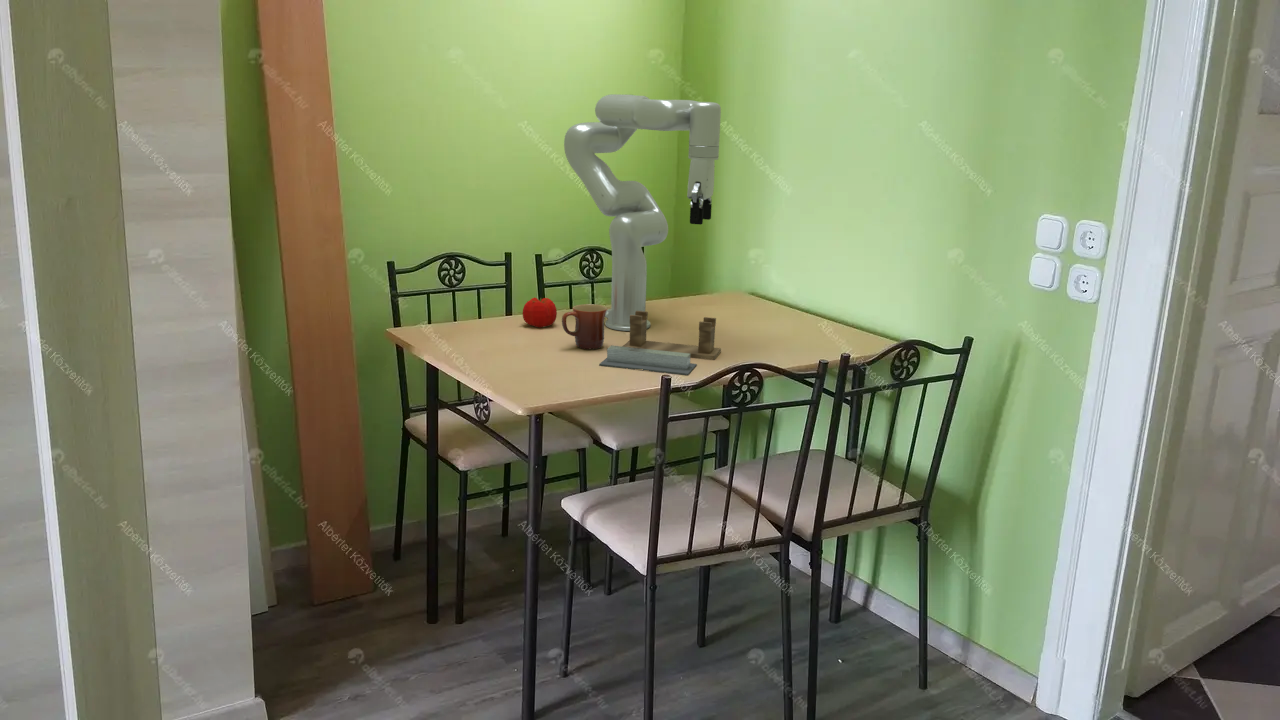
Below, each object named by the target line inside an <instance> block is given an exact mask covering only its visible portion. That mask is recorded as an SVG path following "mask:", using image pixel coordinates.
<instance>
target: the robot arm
mask: <svg viewBox="0 0 1280 720" xmlns="http://www.w3.org/2000/svg"><path fill="white" fill-rule="evenodd" d="M594 113H595V117H596V118H597V120H598V121H593V122H592V121H591V122H589V121H587V122H579V123H576V124H574V125H572V126H570V127H569V128H568V129H567V131H566V132H565V135H564V140H563V147H564V154H565V157H566V160H567V162H568V164H569V166H570V167H571V169H572V170H573V171H574V172H575V174H576V175H577V176H578V177H579V180H581V182H582V183H583V185H584V187H585V189H586V190H587V192H588V193H589V195H590V196H591V198H592V200H593V201H594V203H595V204H596V206H597V208H598V210H599V211H600V212H601V213H602V214H603V216H605V217H614V218H613V219H612V220H611V222H610V224H609V228H608V233H609V234H608V235H609V239H610V240H609V241H610V246H611V304H610V305H611V306H610V308H607V312H606V315H605V318H606V320H604V326H606V327H607V328H608V329H611V330H615V331H621V332H623V331H624V332H630V315H635V311H645V312H646V301H647V299H646V297H647V269H648V268H647V267H648V266H647V259H646V257H645V254H644V252H643V249H642V247H647V246H648V247H649V246H653V245H654V246H655V245H658V244H661V243H662V242H664V241H665V240H666V239H667V236H668V234H669V225H668V221H667V219H666V217H665V215H664V212H663V211H662V210H661V208H660V207H659V205H658V203H657V202H656V200H655V199H654V197H653V195H652V194H651V192H650V190H649V189H648V188H647V187H646V185H644V184H642V182H640V181H636V180H619V179H618V178H617V177H616V175H615V174H614V173H613V171H612V169H611V168H610V165H608V164H607V163H606V162H605V161H604V160H603V159H601V158H600V157H598V156H597V154H611V153H616V152H617V151H620V149H622V148H623V146H625V144H626V143H627V142H628V141H629V140H630V138H631V137H632V136H633V135H634V134H635V132H636V131H638V130H648V131H660V132H661V131H662V132H672V131H673V132H674V131H677V132H678V131H683V132H684V131H687V132H688V131H689V135H688V136H689V137H688V156H687V157H688V159H689V160H690V164H689V170H688V180H687V181H688V183H687V196H686V197H687V199H688V200H690V207H689V209H690V211H689V224H691V225H703V223H704V220H706V221H707V220H708V221H709V220H711V219H712V208H713V206H712V196H714V189H715V188H714V187H715V167H716V166H715V161H718V160H719V155H720V136H721V135H720V133H721V116H722V109H721V105H720V104H719V103H718V102H713V101H696V100H693V99H650V98H649V97H647V96H645V95H636V94H635V95H634V94H620V93H619V94H617V93H615V94H607V95H604V96H602V97H601V98H600V99H598V101H597V102H596V104H595V108H594ZM649 328H651V321H649V320H648V319H647V330H648V329H649Z"/></svg>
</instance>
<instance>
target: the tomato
mask: <svg viewBox="0 0 1280 720" xmlns="http://www.w3.org/2000/svg"><path fill="white" fill-rule="evenodd" d="M557 314H558V311H557V306H556V304H555V302H554V301H553V300H551V298H548V297H543V298H542V297H540V298H539V299H538V298H537V297H532V298H530V300H528V301H527V302H526V303H525V304H524V305H523V308H522V319H523V321H524V322H525V323H526V324H527V325H529V326H533V327H535V328H539V329H540V328H545V327H549V326H552V325H553V324H554V323H555V321H556V319H557V316H558V315H557Z"/></svg>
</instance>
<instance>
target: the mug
mask: <svg viewBox="0 0 1280 720" xmlns="http://www.w3.org/2000/svg"><path fill="white" fill-rule="evenodd" d="M607 310H608V307H607V306H606V305H601V304H592V303H586V304H585V303H583V304H577V305H574V306H573V307H572V311H568V312H567V311H566V312H565V313H564V314H563V315H562V317H561V325H562V329H563V331H564V332H565V333H566V334H567V335H569V336H572V337H574V342H575V345H576V346H577V348H579V349H581V350H590V351H591V350H598V349H600V348H602V347H603V346H604V342H605V341H604V340H605V318H606V317H605V315H606V312H607ZM570 316H572V317H574V319H575V326H574V330H573V331H572V330H569V328H568V325H567V318H568V317H570Z"/></svg>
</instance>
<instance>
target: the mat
mask: <svg viewBox="0 0 1280 720" xmlns="http://www.w3.org/2000/svg"><path fill="white" fill-rule="evenodd" d="M598 366H599V367H600V366H601V367H610V368H617V369H626V368H628V369H627V370H635V369H643V370H642V371H644V370H649V371H648V372H653V371H654V372H655V373H663V374H672V375H680V376H689V375H690V374H691V373H692V371H693V370H694V369H695V368H696V367H697V363H691V362H690V367H689V368H688V369H687V370H683V369H674V368H665V367H655V366H646V365H637V364H628V363H619V362H610V361H607V357H606V358H604V360H602V361H601V362H600V363H599V364H598ZM664 372H666V373H664Z"/></svg>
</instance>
